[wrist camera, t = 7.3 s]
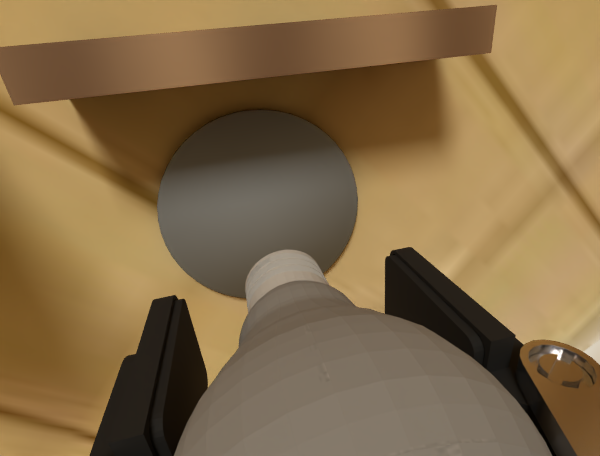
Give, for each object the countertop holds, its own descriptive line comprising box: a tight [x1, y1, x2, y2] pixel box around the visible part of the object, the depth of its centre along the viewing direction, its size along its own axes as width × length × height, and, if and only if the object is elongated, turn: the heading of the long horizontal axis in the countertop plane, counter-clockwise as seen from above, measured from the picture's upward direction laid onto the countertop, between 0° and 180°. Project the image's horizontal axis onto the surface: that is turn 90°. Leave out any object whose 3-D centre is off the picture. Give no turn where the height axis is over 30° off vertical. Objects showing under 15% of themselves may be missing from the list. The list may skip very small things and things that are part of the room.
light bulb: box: [174, 250, 552, 456], centre depth 7 cm, size 6×6×10 cm
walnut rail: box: [0, 5, 497, 105], centre depth 13 cm, size 16×2×4 cm, turn 96°
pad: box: [157, 110, 358, 298], centre depth 17 cm, size 10×10×1 cm
